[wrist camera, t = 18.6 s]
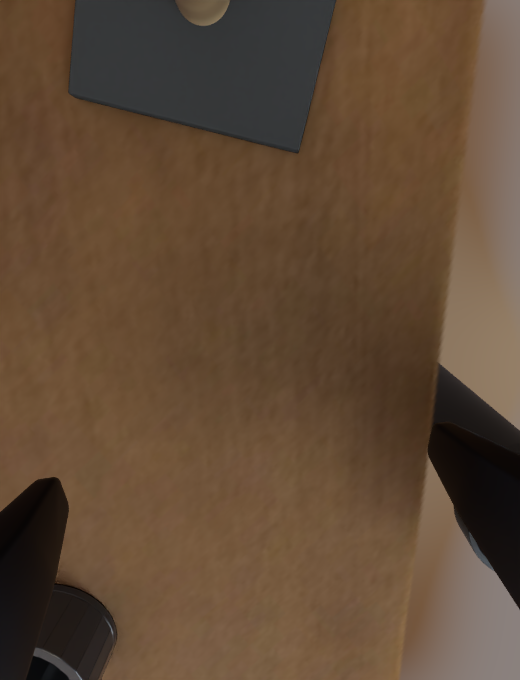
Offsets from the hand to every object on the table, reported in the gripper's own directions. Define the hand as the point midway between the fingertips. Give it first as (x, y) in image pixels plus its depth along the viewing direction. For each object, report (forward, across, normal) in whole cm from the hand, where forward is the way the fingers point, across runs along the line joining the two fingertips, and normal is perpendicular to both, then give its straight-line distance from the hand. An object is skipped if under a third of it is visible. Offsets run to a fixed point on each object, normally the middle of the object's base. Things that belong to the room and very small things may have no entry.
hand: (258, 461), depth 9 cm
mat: (+14, 0, -13) cm, 19 cm away
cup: (+11, +14, +24) cm, 30 cm away
